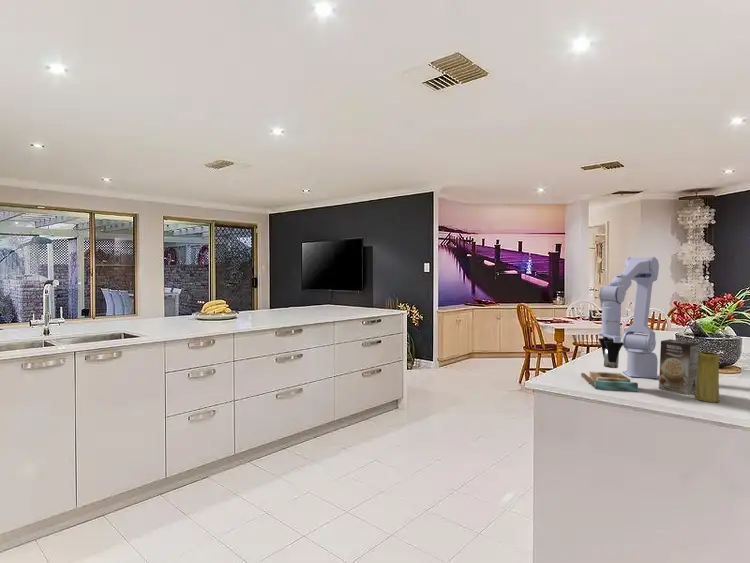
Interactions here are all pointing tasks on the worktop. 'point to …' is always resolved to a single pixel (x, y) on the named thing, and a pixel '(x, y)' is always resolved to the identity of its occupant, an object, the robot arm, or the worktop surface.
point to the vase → (707, 377)
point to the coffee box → (678, 366)
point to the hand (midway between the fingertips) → (609, 360)
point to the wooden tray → (608, 377)
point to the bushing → (610, 364)
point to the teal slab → (611, 384)
